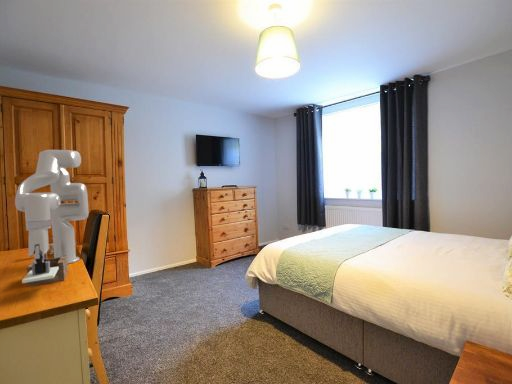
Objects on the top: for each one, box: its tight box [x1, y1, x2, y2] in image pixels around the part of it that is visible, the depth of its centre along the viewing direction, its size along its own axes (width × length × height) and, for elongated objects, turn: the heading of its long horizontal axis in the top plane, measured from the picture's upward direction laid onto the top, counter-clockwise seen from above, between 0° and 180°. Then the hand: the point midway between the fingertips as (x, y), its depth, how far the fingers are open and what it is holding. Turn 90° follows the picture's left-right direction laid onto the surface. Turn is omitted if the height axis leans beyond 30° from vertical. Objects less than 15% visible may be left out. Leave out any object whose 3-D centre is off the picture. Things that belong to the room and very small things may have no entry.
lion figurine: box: [48, 243, 54, 255], centre depth 158 cm, size 15×5×9 cm, turn 153°
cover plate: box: [21, 261, 59, 284], centre depth 104 cm, size 13×9×5 cm
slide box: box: [26, 255, 69, 288], centre depth 118 cm, size 14×12×8 cm
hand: (41, 271), depth 104 cm, fingers closed on cover plate, 3 cm apart
